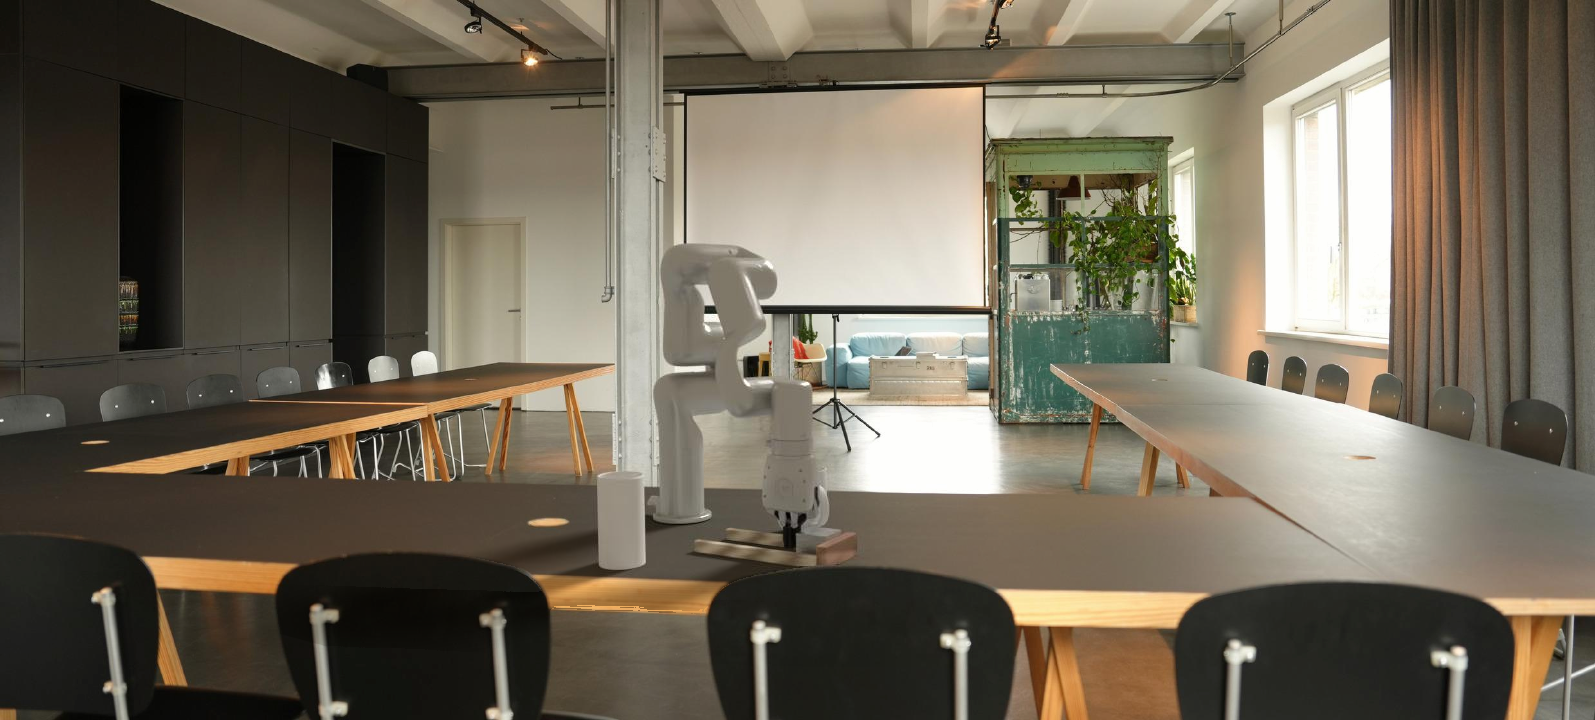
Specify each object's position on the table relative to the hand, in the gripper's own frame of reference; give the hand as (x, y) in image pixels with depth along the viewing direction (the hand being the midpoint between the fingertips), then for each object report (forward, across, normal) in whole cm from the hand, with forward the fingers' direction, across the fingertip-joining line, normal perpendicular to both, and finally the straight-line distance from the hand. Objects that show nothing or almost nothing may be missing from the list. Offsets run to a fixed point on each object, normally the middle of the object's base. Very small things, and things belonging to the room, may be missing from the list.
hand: (791, 546), depth 176 cm
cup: (+2, -24, -19) cm, 31 cm away
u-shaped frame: (+2, -4, 0) cm, 4 cm away
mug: (+2, -7, +16) cm, 17 cm away
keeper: (+2, +5, 0) cm, 6 cm away
